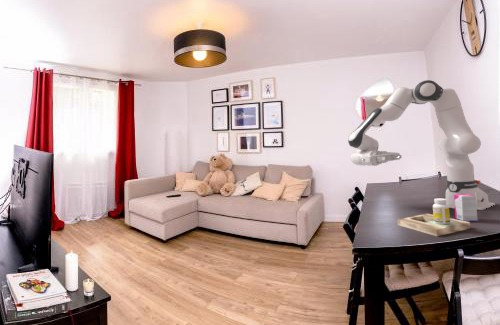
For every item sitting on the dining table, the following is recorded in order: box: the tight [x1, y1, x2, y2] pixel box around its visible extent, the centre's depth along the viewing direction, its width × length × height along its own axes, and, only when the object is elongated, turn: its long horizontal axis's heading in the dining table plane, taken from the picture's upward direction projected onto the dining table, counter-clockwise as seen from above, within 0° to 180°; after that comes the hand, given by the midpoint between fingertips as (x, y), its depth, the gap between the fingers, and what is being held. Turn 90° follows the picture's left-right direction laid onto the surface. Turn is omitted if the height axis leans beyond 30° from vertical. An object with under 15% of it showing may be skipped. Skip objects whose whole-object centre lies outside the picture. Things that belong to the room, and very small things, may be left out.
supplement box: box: [454, 194, 478, 223], centre depth 111 cm, size 6×6×12 cm
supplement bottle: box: [432, 197, 451, 224], centre depth 103 cm, size 5×5×10 cm
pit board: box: [397, 213, 471, 237], centre depth 107 cm, size 18×18×3 cm
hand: (393, 157), depth 129 cm, fingers open, 8 cm apart
